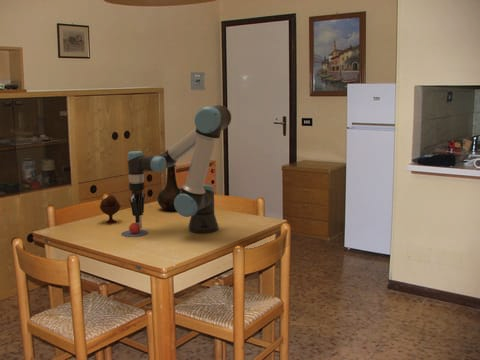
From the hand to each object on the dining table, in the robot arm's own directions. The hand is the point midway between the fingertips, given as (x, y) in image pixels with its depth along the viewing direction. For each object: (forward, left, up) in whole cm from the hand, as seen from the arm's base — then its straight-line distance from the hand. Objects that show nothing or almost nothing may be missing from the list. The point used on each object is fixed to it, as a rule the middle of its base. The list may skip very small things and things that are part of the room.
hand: (138, 228), depth 287 cm
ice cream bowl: (+27, -5, -2) cm, 27 cm away
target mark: (-1, +4, -2) cm, 5 cm away
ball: (-2, +4, +1) cm, 5 cm away
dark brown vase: (+20, -46, -2) cm, 50 cm away
